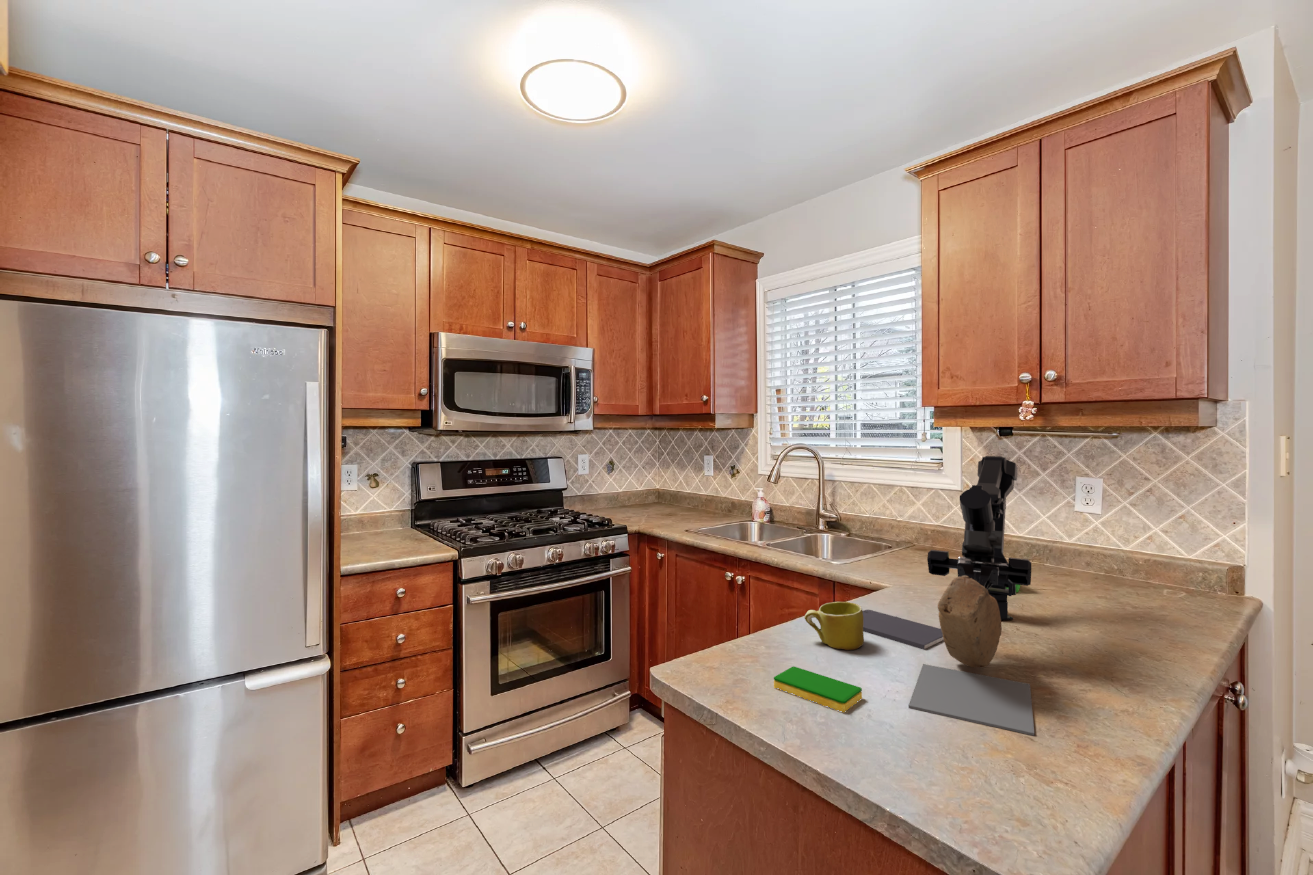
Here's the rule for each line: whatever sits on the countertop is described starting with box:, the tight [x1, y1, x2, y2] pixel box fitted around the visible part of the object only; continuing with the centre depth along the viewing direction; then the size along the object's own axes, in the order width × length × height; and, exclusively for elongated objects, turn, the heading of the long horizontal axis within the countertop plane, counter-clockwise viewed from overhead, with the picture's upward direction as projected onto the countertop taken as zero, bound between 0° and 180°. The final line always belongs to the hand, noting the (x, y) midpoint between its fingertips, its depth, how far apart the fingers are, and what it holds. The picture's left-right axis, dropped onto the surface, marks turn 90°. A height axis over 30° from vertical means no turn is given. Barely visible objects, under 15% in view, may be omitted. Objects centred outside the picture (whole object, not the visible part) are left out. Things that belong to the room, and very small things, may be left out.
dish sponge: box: [773, 666, 863, 713], centre depth 106 cm, size 7×14×2 cm, turn 46°
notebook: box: [862, 609, 944, 651], centre depth 139 cm, size 13×2×21 cm
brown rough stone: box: [937, 576, 1002, 668], centre depth 113 cm, size 11×8×20 cm
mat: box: [908, 663, 1035, 737], centre depth 105 cm, size 20×18×1 cm
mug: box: [804, 601, 865, 651], centre depth 130 cm, size 12×10×10 cm
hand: (976, 602), depth 118 cm, fingers closed
